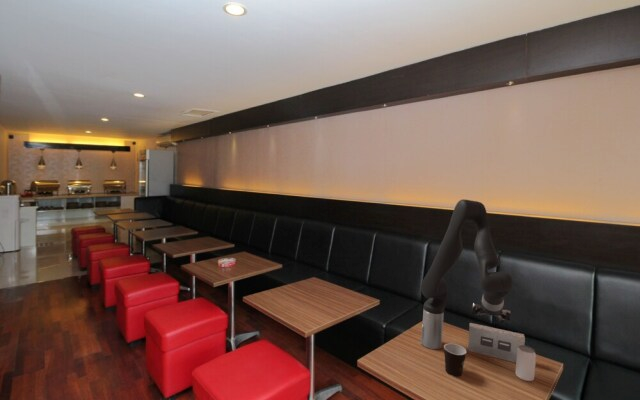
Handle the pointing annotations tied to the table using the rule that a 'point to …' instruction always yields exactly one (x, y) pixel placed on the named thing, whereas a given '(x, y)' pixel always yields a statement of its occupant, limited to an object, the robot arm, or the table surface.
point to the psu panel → (494, 342)
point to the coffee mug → (454, 359)
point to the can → (525, 363)
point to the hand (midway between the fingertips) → (489, 318)
